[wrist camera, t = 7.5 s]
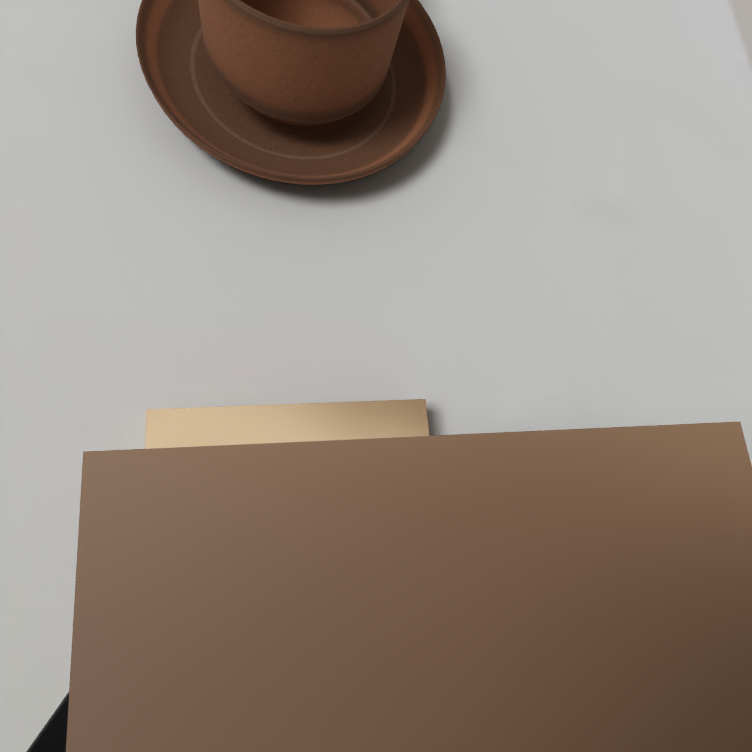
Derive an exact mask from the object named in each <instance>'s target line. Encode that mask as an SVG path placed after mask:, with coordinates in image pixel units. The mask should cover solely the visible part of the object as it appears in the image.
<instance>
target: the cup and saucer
mask: <svg viewBox="0 0 752 752" xmlns="http://www.w3.org/2000/svg"><path fill="white" fill-rule="evenodd" d="M136 45H137V52H138V57H139V61H140V65H141V68H142V71H143V74H144V76H145V79H146V81H147V84H148V85H149V87H150V89H151V91H152V93H153V95H154V97H155V98H156V100H157V102H158V103H159V105H160V106H161V108H162V109H163V111H164V112H165V114H166V115H167V116H168V117H169V119H170V120H171V121H172V122H173V123H174V124H175V126H176V127H177V128H178V129H179V130H180V131H181V132H182V133H183V134H184V135H185V136H186V137H188V138H189V139H190V140H191V141H192V142H194V143H195V144H196V145H197V146H199V147H200V148H201V149H203V150H204V151H206V152H207V153H209V154H210V155H212V156H213V157H215V158H217V159H219V160H221V161H222V162H224V163H226V164H228V165H230V166H232V167H235V168H237V169H239V170H241V171H244V172H247V173H250V174H252V175H255V176H258V177H262V178H266V179H270V180H274V181H280V182H285V183H293V184H305V185H321V184H334V183H340V182H346V181H351V180H354V179H358V178H362V177H365V176H367V175H370V174H373V173H375V172H377V171H379V170H381V169H383V168H385V167H387V166H389V165H391V164H392V163H394V162H395V161H397V160H398V159H400V158H401V157H402V156H403V155H405V154H406V153H407V152H408V151H409V150H410V149H411V148H412V147H413V146H414V145H415V144H416V143H417V142H418V141H419V140H420V139H421V137H422V136H423V135H424V134H425V132H426V131H427V130H428V128H429V127H430V125H431V123H432V122H433V120H434V118H435V116H436V114H437V112H438V109H439V107H440V104H441V101H442V97H443V93H444V87H445V60H444V55H443V49H442V46H441V43H440V39H439V37H438V34H437V32H436V29H435V27H434V25H433V23H432V21H431V19H430V17H429V15H428V14H427V12H426V11H425V9H424V8H423V6H422V5H421V3H420V2H419V1H418V0H142V2H141V5H140V9H139V13H138V17H137V25H136Z"/></svg>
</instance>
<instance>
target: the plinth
mask: <svg viewBox="0 0 752 752" xmlns="http://www.w3.org/2000/svg"><path fill="white" fill-rule="evenodd" d="M416 436H429V428H428V419H427V410H426V400H425V399H415V400H388V401H361V402H335V403H308V404H281V405H254V406H227V407H200V408H174V409H147V410H146V442H145V449H154V448H176V447H197V446H219V445H241V444H263V443H285V442H307V441H329V440H351V439H372V438H394V437H416Z"/></svg>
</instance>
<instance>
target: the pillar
mask: <svg viewBox="0 0 752 752" xmlns="http://www.w3.org/2000/svg"><path fill="white" fill-rule="evenodd" d="M66 752H752V466H751V462H750V458H749V454H748V451H747V447H746V443H745V439H744V435H743V431H742V427H741V423H740V422H722V423H700V424H678V425H657V426H635V427H613V428H591V429H569V430H547V431H525V432H504V433H482V434H460V435H438V436H416V437H394V438H372V439H351V440H329V441H307V442H285V443H263V444H241V445H219V446H197V447H176V448H154V449H132V450H110V451H88V452H83V466H82V483H81V500H80V517H79V535H78V552H77V569H76V586H75V603H74V620H73V637H72V654H71V671H70V688H69V706H68V723H67V740H66Z"/></svg>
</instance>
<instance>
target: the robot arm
mask: <svg viewBox="0 0 752 752" xmlns="http://www.w3.org/2000/svg"><path fill="white" fill-rule="evenodd" d="M68 706H69V692H68V694H67V695H66V697H65V698H64V699H63V701H62V702H61V704H60V705H59V707H58V708H57V709H56V711H55V712H54V714H53V715H52V716H51V718H50V719H49V721H48V722H47V723H46V725H45V726H44V728H43V729H42V731H41V732H40V733H39V735H38V736H37V738H36V739H35V740H34V742H33V743H32V745H31V746H30V747H29V749H28V750H27V752H66V740H67V723H68Z"/></svg>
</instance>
